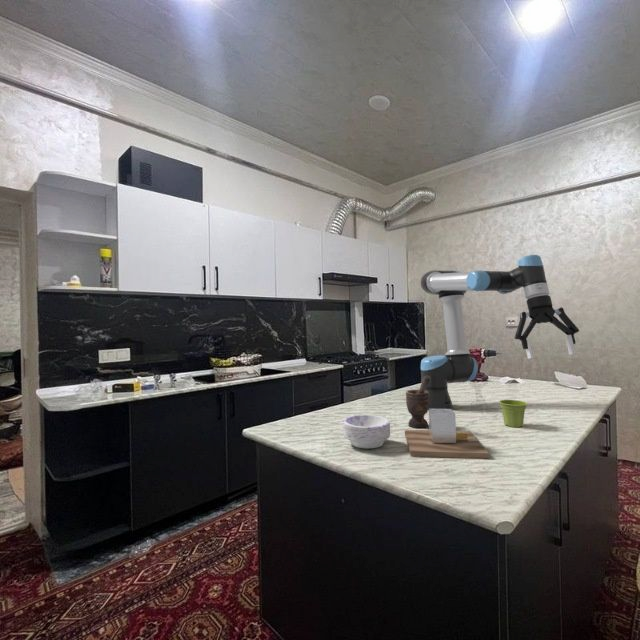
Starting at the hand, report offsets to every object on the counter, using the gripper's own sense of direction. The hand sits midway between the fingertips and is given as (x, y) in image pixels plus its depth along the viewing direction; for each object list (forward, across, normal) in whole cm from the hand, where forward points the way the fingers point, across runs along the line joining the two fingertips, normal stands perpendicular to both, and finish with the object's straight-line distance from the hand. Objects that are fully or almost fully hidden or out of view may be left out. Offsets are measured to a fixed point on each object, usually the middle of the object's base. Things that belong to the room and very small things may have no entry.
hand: (551, 356), depth 127 cm
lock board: (+25, -42, -9) cm, 50 cm away
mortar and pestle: (+21, -46, +12) cm, 51 cm away
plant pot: (+23, -12, +15) cm, 30 cm away
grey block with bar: (+24, -40, -9) cm, 47 cm away
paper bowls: (+23, -66, -10) cm, 71 cm away
